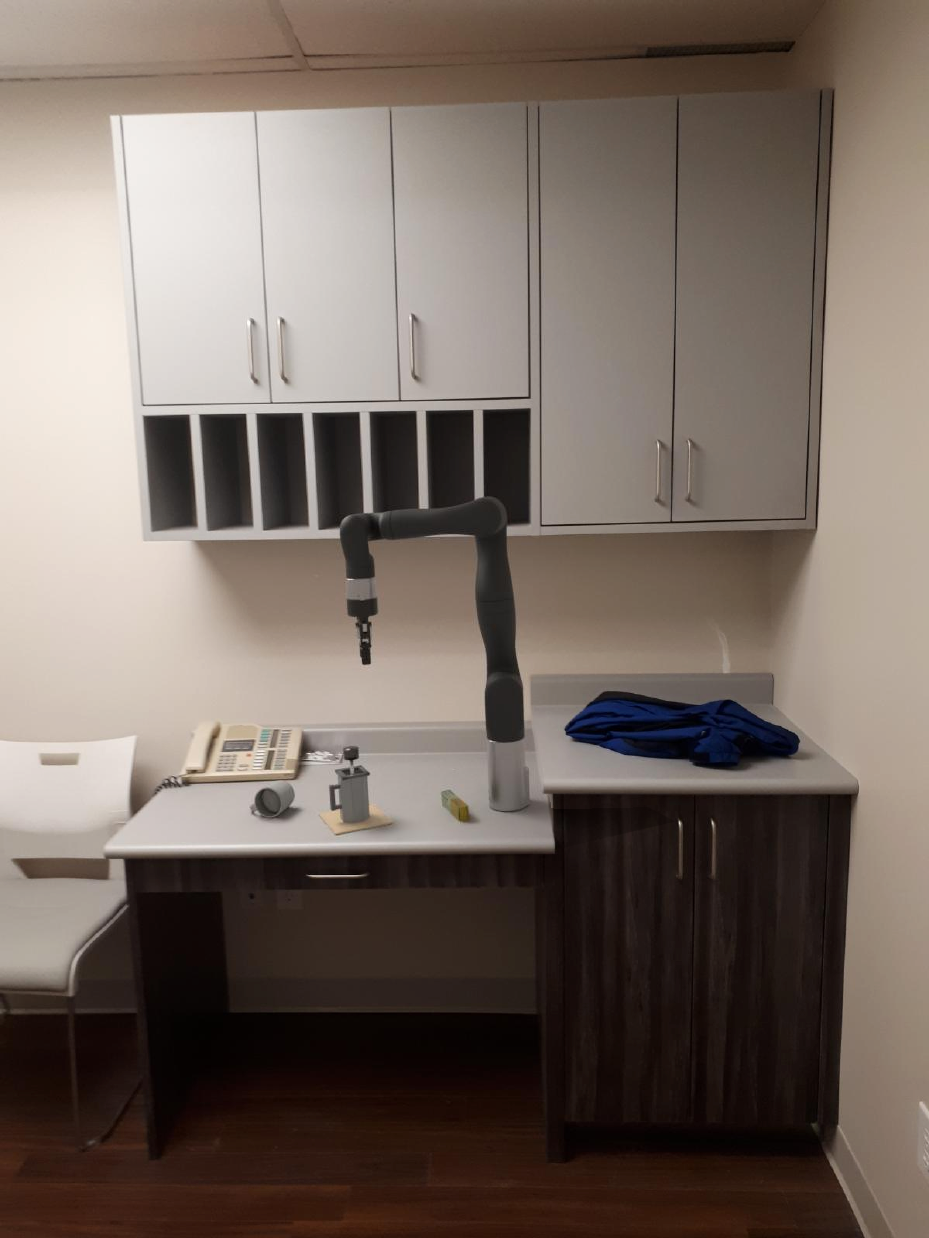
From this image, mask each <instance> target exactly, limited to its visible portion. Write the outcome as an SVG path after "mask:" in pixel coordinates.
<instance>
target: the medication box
mask: <svg viewBox="0 0 929 1238" xmlns="http://www.w3.org/2000/svg"><path fill="white" fill-rule="evenodd" d="M440 796H441V803H442V804H441V805H442V807H443V808H444V809H445V810H446V811H447V812H448V813H450V814H451V816H452V817H454V819H456V820H457V821H458V822H459V821H460V822H459V823H461V821H463V822H467V821H470V812H469V805H468V804H467V803H466V802H465V801H464V800H462V799H461V798H460V797H459V796H458V795H457V794H456V793H455V792H453V791H452V790H451V789H448V790H447V789H446V790H443V791H441V792H440Z"/></svg>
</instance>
